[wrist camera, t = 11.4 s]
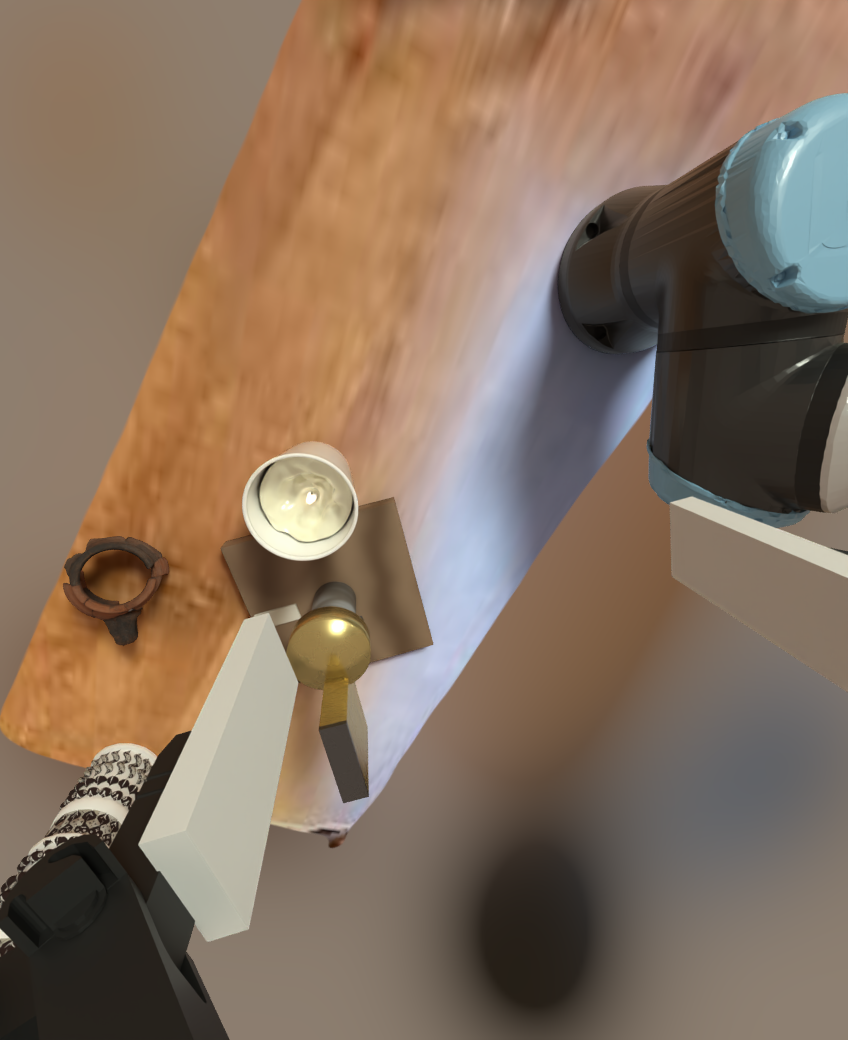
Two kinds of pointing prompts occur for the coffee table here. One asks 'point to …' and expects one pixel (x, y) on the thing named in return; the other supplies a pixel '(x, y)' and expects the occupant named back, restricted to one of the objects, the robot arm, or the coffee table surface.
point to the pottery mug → (111, 612)
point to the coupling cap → (336, 688)
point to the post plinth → (349, 565)
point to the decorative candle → (91, 807)
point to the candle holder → (302, 502)
